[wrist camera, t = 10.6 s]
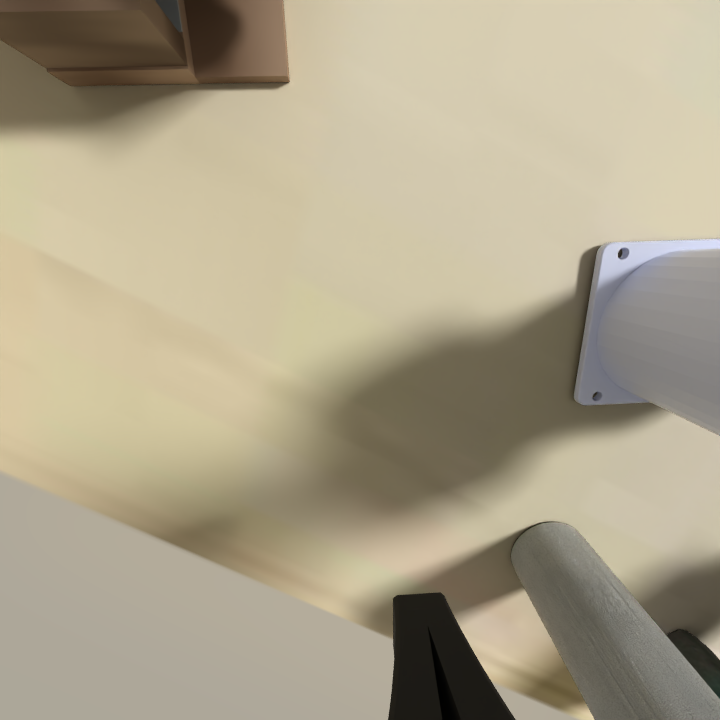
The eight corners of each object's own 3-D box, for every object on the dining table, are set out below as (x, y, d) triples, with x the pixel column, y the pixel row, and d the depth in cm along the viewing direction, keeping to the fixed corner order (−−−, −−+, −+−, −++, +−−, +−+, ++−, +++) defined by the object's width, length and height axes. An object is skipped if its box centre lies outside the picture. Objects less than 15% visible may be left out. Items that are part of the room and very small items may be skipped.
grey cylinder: (548, 588, 22) (709, 853, 12) (494, 560, 21) (622, 821, 12) (597, 540, 21) (814, 786, 11) (543, 508, 20) (727, 745, 11)
